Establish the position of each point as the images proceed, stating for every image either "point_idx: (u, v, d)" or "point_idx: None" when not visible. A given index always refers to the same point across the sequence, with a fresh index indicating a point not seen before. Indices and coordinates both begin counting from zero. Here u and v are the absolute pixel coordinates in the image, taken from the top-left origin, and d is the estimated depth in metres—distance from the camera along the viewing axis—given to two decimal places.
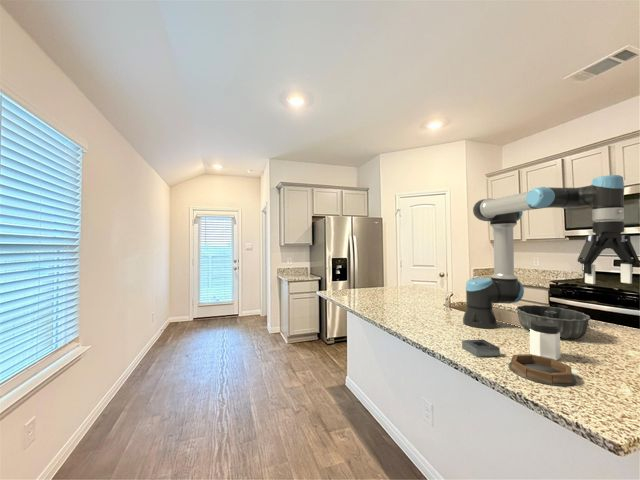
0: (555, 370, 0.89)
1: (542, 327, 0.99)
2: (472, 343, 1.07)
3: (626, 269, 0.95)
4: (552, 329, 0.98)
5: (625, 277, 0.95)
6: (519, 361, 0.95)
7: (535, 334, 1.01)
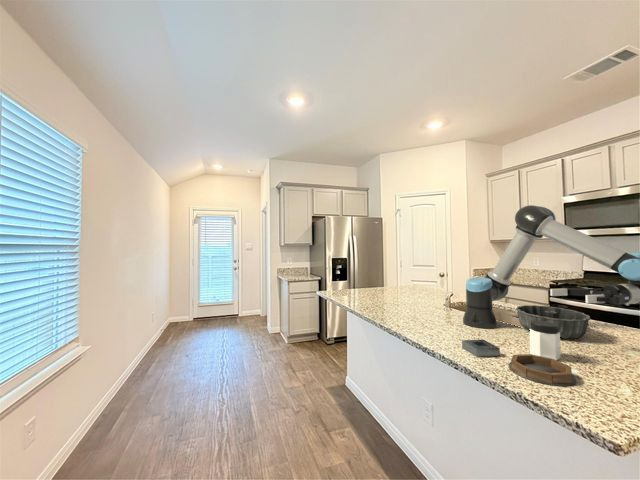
0: (555, 370, 0.89)
1: (542, 327, 0.99)
2: (472, 343, 1.07)
3: (563, 293, 1.10)
4: (552, 329, 0.98)
5: (556, 292, 1.09)
6: (519, 361, 0.95)
7: (535, 334, 1.01)
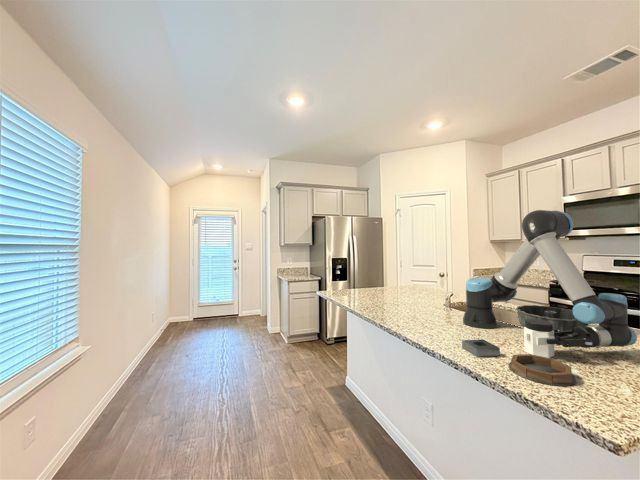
0: (555, 370, 0.89)
1: (535, 325, 1.02)
2: (472, 343, 1.07)
3: None
4: (545, 327, 1.00)
5: None
6: (519, 361, 0.95)
7: (528, 332, 1.04)
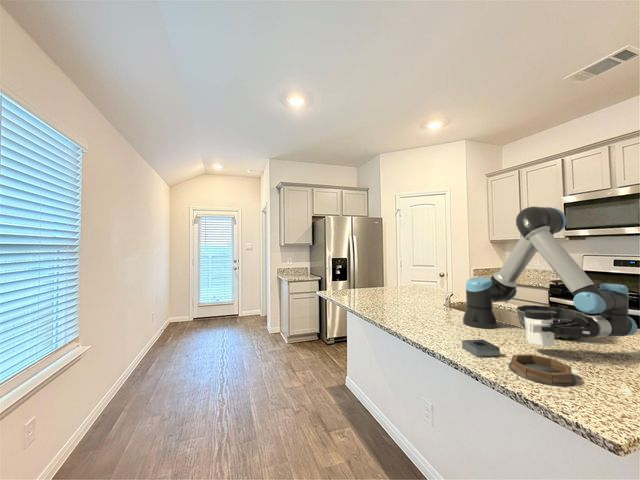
0: (555, 370, 0.89)
1: (529, 313, 1.05)
2: (472, 343, 1.07)
3: None
4: (538, 315, 1.03)
5: None
6: (519, 361, 0.95)
7: (526, 320, 1.07)
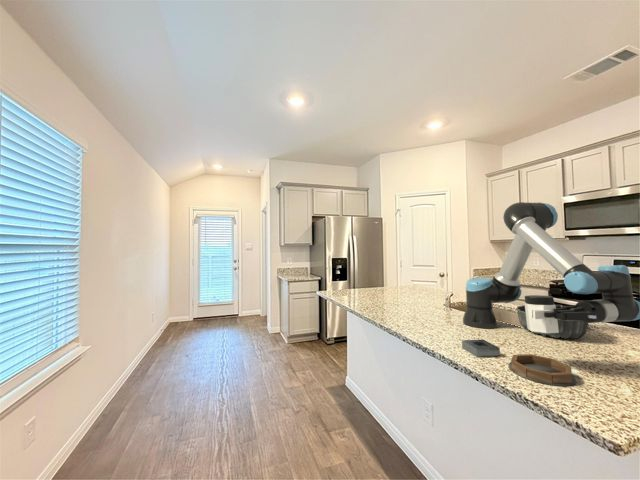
0: (555, 370, 0.89)
1: (530, 298, 0.97)
2: (472, 343, 1.07)
3: None
4: (540, 300, 0.95)
5: None
6: (519, 361, 0.95)
7: (526, 307, 0.99)
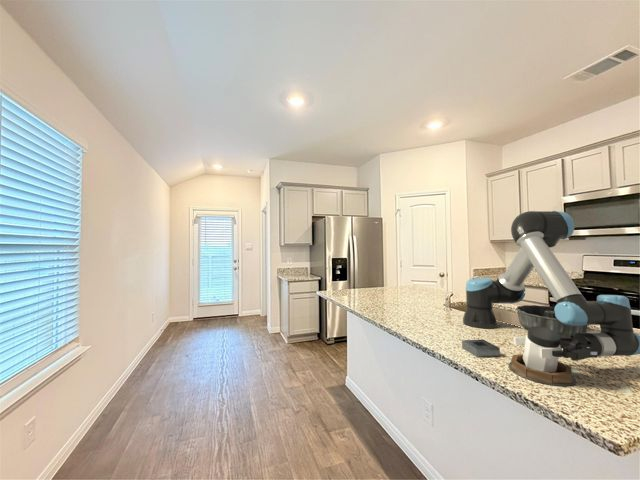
0: None
1: (534, 337, 0.87)
2: (472, 343, 1.07)
3: None
4: (545, 342, 0.85)
5: (520, 341, 0.94)
6: (519, 361, 0.95)
7: (527, 342, 0.90)
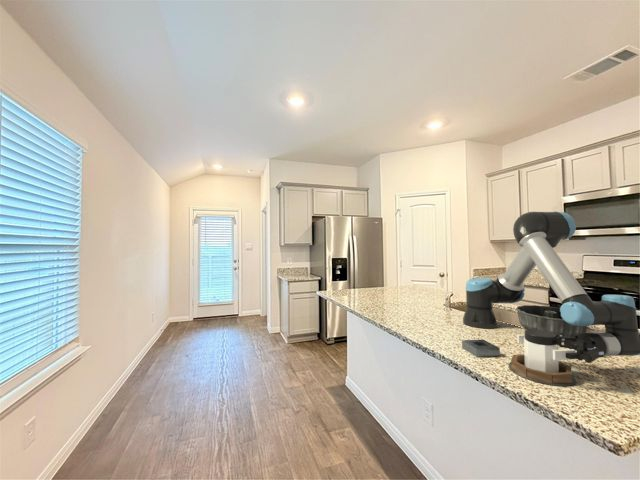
0: None
1: (530, 336, 0.89)
2: (472, 343, 1.07)
3: None
4: (541, 339, 0.86)
5: (523, 339, 0.95)
6: (519, 361, 0.95)
7: (526, 343, 0.91)
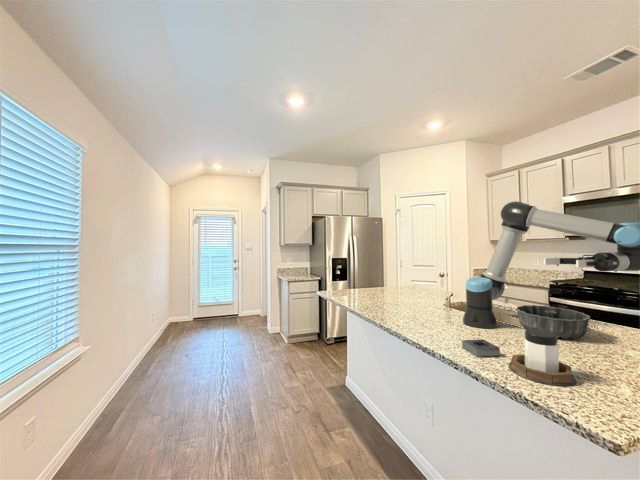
0: None
1: (531, 336, 0.89)
2: (472, 343, 1.07)
3: (555, 262, 1.16)
4: (542, 339, 0.86)
5: (549, 261, 1.16)
6: (519, 361, 0.95)
7: (526, 343, 0.91)
